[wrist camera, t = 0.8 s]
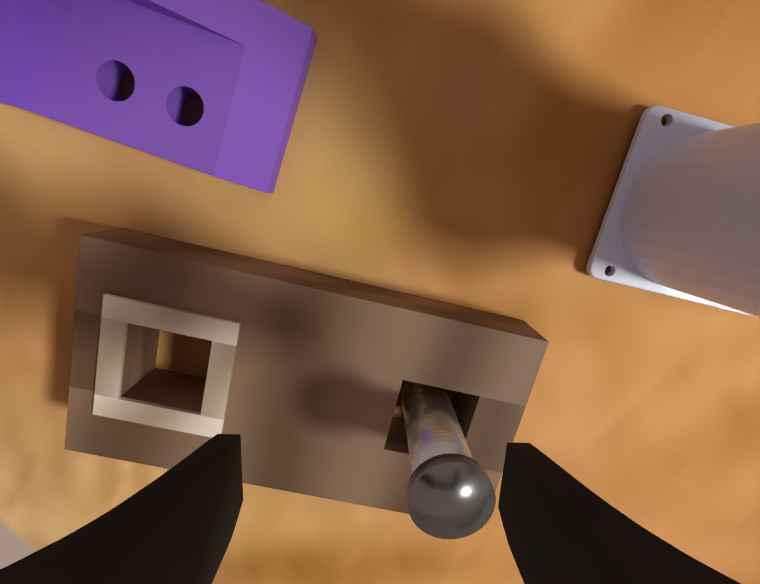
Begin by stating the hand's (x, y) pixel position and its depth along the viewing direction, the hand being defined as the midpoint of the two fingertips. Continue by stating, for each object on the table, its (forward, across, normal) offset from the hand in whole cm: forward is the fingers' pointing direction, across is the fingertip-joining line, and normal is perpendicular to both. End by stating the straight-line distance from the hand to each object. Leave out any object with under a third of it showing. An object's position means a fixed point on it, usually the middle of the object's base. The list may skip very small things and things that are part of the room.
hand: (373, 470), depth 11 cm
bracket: (+11, +10, -12) cm, 19 cm away
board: (+10, +3, +2) cm, 11 cm away
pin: (+10, -3, +3) cm, 11 cm away
